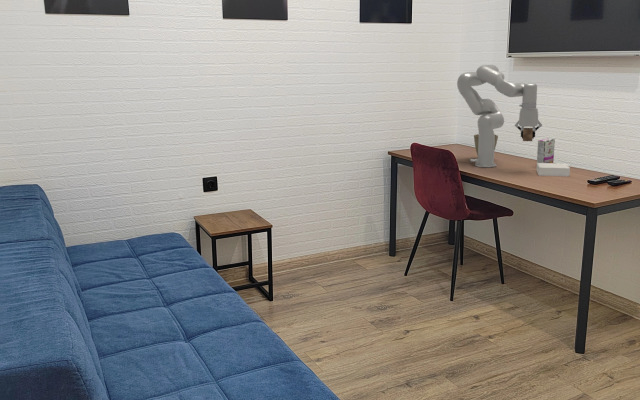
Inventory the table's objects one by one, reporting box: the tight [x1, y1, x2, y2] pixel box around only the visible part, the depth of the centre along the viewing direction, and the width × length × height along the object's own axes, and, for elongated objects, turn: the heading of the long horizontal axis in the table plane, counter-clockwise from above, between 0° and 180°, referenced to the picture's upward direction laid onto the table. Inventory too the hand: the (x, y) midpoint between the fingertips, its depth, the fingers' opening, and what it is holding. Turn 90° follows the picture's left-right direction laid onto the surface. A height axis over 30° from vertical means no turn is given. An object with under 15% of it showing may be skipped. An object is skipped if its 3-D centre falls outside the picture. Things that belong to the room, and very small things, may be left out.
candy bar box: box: [536, 138, 556, 164], centre depth 349 cm, size 11×5×16 cm, turn 129°
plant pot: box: [473, 133, 499, 157], centre depth 375 cm, size 15×15×16 cm
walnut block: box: [522, 127, 533, 142], centre depth 331 cm, size 5×5×7 cm
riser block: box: [535, 162, 571, 177], centre depth 331 cm, size 16×14×5 cm
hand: (527, 138), depth 331 cm, fingers closed on walnut block, 5 cm apart
